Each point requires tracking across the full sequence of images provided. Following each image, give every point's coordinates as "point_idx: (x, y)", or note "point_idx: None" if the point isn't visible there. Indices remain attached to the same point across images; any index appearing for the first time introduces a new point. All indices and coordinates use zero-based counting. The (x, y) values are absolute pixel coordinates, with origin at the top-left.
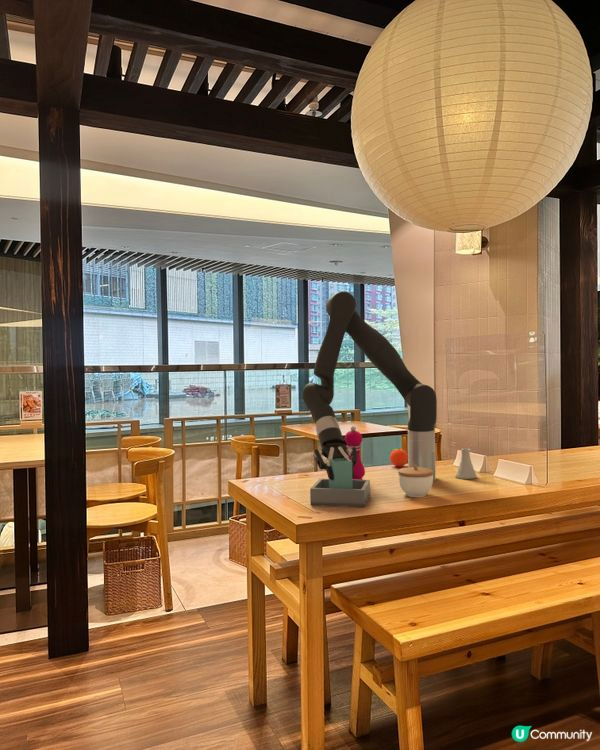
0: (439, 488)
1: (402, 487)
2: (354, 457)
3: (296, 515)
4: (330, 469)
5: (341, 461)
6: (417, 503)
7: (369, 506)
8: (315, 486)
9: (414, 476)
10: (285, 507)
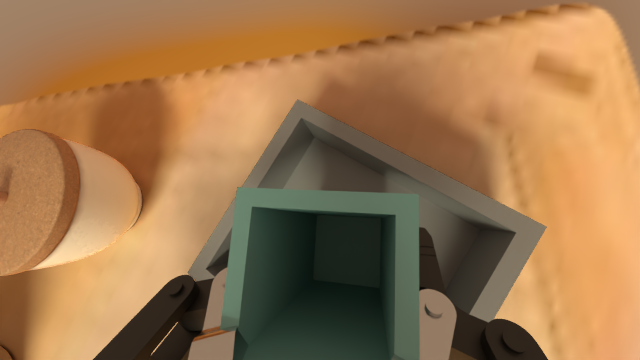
0: None
1: (128, 200)
2: (147, 327)
3: (594, 104)
4: (420, 262)
5: (334, 200)
6: (167, 119)
7: None
8: (498, 263)
9: (62, 141)
10: (628, 239)
